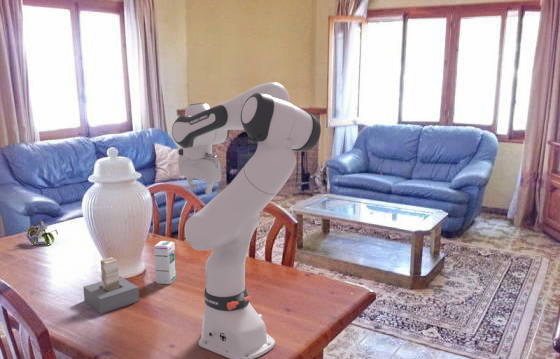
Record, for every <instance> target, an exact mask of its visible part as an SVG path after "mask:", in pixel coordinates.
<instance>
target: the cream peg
mask: <svg viewBox="0 0 560 359" xmlns="http://www.w3.org/2000/svg"><path fill="white" fill-rule="evenodd" d="M100 268H101V269H100V270H101V281H102V287H103V291H105V292H109V291H112V290H115V289H119V276H120V274H119V261H118V260H117V259H116V258H114V257H112V256H111V257H107V258H103V259H100Z"/></svg>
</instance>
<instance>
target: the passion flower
mask: <svg viewBox="0 0 560 359" xmlns="http://www.w3.org/2000/svg"><path fill="white" fill-rule="evenodd" d="M44 223H45V222H44V221H42V220H41V221H40V223H36V224H35V225H30V226H29V227H28V228H27V230H26V234H25V237H26V238H27V239H28V241H29V242H31V243H32V244H34V245H37V243H38V242H39V240H40V239H43V240H44V241H45V244H46V245H47V244H50V243H51V242H52V243H54V242H55V237H54V235H53V232H54V231H55V233H56V235H59V233H58V230H57V229H54V230H51V232H49V231H48V232H46V230H47V229H48V226H47V225H46V226H45V225H44ZM50 241H51V242H50Z"/></svg>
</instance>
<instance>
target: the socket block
mask: <svg viewBox="0 0 560 359" xmlns="http://www.w3.org/2000/svg"><path fill="white" fill-rule="evenodd" d="M83 298H84V302H85V303H87V304H88V305H89V306H91V308H93V309H95V310H96V311H97V312H99V313H100V314H102V315H103V314H106V313H108V312H111V311H114V310H117V309H120V308H123V307H126V306H129V305H131V304H132V305H133V304H136V303H137V302H138V303H139V301H140V291H139V286H138V285H136V284H134V283H132V282H131V281H130V280H128V279H126V278H124V277H122V276H121V275H119V289H115V290H112V291H109V292H105V291H103V287H102V280H101V281H99V282H95V283H92V284H91V283H90V284H87V285H84V286H83Z"/></svg>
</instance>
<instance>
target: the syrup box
mask: <svg viewBox="0 0 560 359" xmlns="http://www.w3.org/2000/svg"><path fill="white" fill-rule="evenodd" d="M175 245H176V244H175V241H173V240H171V241H170V240H160V241H159V242H158V243H156V244H155V245H154V246H153V253H154V254H153V256H154V269H155V281H156V282H155V283H156V284H160V285H161V284H162V285H171V284H172V283H173V282H174V281H176V280H177V277H178V275H177V262H176V261H177V260H176V246H175Z"/></svg>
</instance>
